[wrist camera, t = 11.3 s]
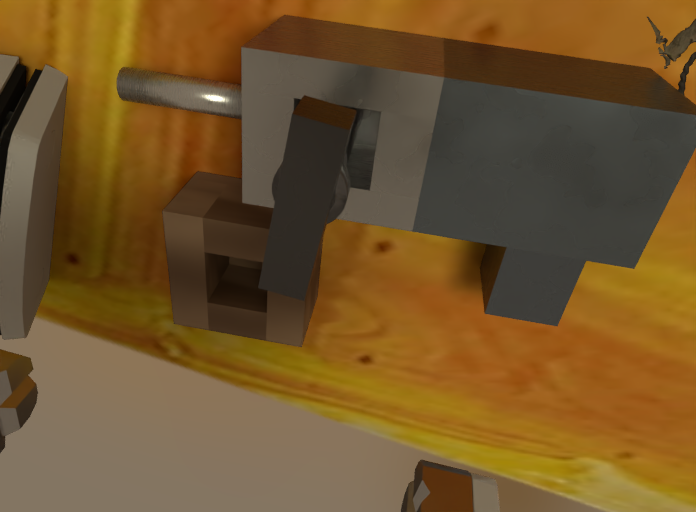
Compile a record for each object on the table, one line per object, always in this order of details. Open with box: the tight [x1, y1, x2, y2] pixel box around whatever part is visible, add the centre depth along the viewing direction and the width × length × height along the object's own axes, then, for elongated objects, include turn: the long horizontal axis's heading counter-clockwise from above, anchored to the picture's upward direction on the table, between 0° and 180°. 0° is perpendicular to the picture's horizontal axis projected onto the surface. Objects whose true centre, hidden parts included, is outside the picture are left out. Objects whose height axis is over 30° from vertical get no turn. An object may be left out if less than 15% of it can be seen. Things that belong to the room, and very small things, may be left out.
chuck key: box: [258, 95, 363, 301], centre depth 23 cm, size 3×7×11 cm, turn 166°
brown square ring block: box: [162, 171, 323, 347], centre depth 32 cm, size 8×8×5 cm
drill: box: [117, 15, 696, 326], centre depth 27 cm, size 25×13×7 cm, turn 84°
